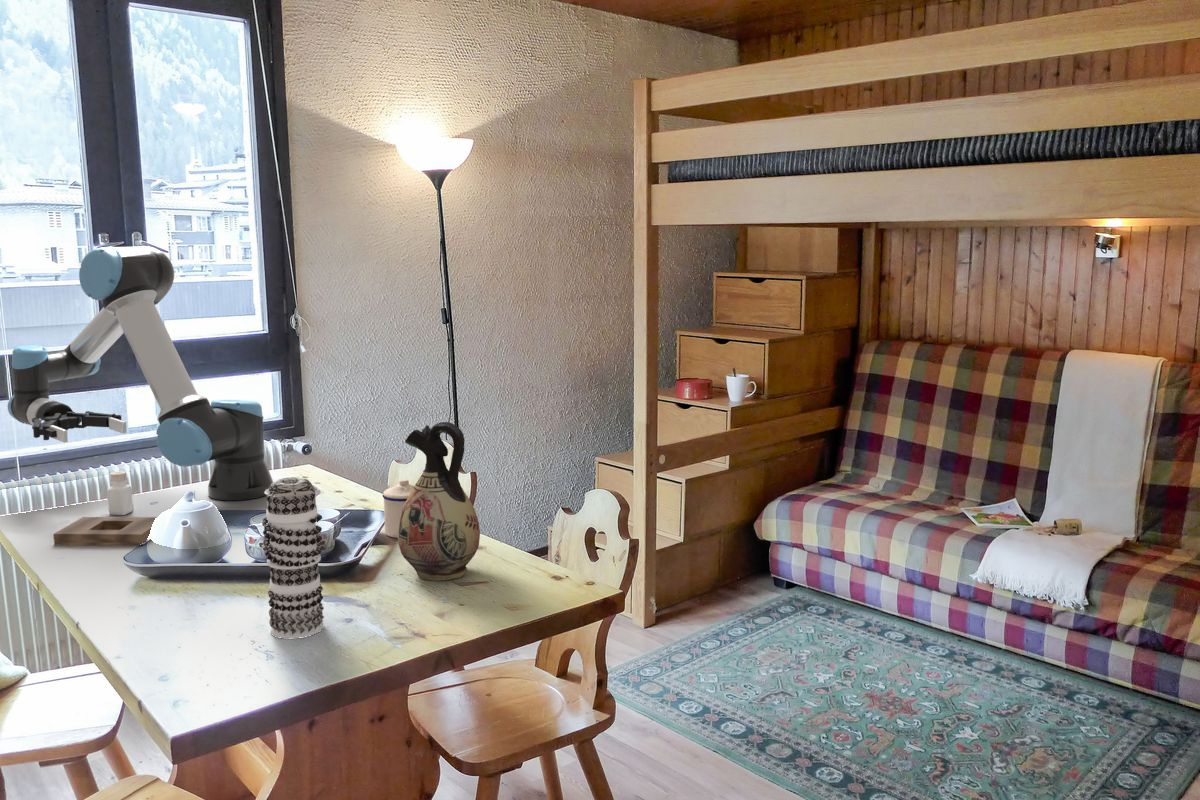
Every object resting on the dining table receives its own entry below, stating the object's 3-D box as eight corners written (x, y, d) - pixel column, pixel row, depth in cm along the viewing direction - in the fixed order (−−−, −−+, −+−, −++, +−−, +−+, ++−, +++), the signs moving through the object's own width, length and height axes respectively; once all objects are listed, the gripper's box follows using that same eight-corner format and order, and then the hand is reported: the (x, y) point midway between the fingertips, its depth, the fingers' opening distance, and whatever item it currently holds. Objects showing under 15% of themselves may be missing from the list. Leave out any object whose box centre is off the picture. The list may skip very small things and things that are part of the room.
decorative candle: (304, 613, 169) (298, 470, 164) (337, 627, 163) (332, 480, 158) (256, 629, 162) (248, 481, 157) (289, 645, 156) (281, 491, 151)
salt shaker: (134, 511, 227) (131, 470, 226) (124, 516, 223) (121, 475, 222) (118, 510, 228) (115, 470, 226) (108, 515, 224) (104, 474, 222)
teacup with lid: (435, 532, 213) (433, 480, 211) (399, 541, 207) (397, 487, 205) (403, 520, 222) (402, 470, 220) (368, 529, 215) (366, 477, 213)
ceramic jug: (381, 579, 185) (376, 422, 180) (431, 555, 199) (428, 408, 193) (455, 595, 177) (452, 431, 172) (503, 569, 191) (501, 417, 186)
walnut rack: (167, 528, 215) (166, 517, 215) (142, 545, 203) (141, 534, 203) (83, 527, 215) (83, 516, 214) (54, 545, 203) (53, 533, 203)
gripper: (102, 424, 250) (148, 439, 238) (-4, 439, 230) (40, 456, 218) (101, 395, 249) (147, 409, 237) (-6, 407, 229) (38, 423, 217)
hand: (96, 432), depth 228 cm, fingers open, 13 cm apart
